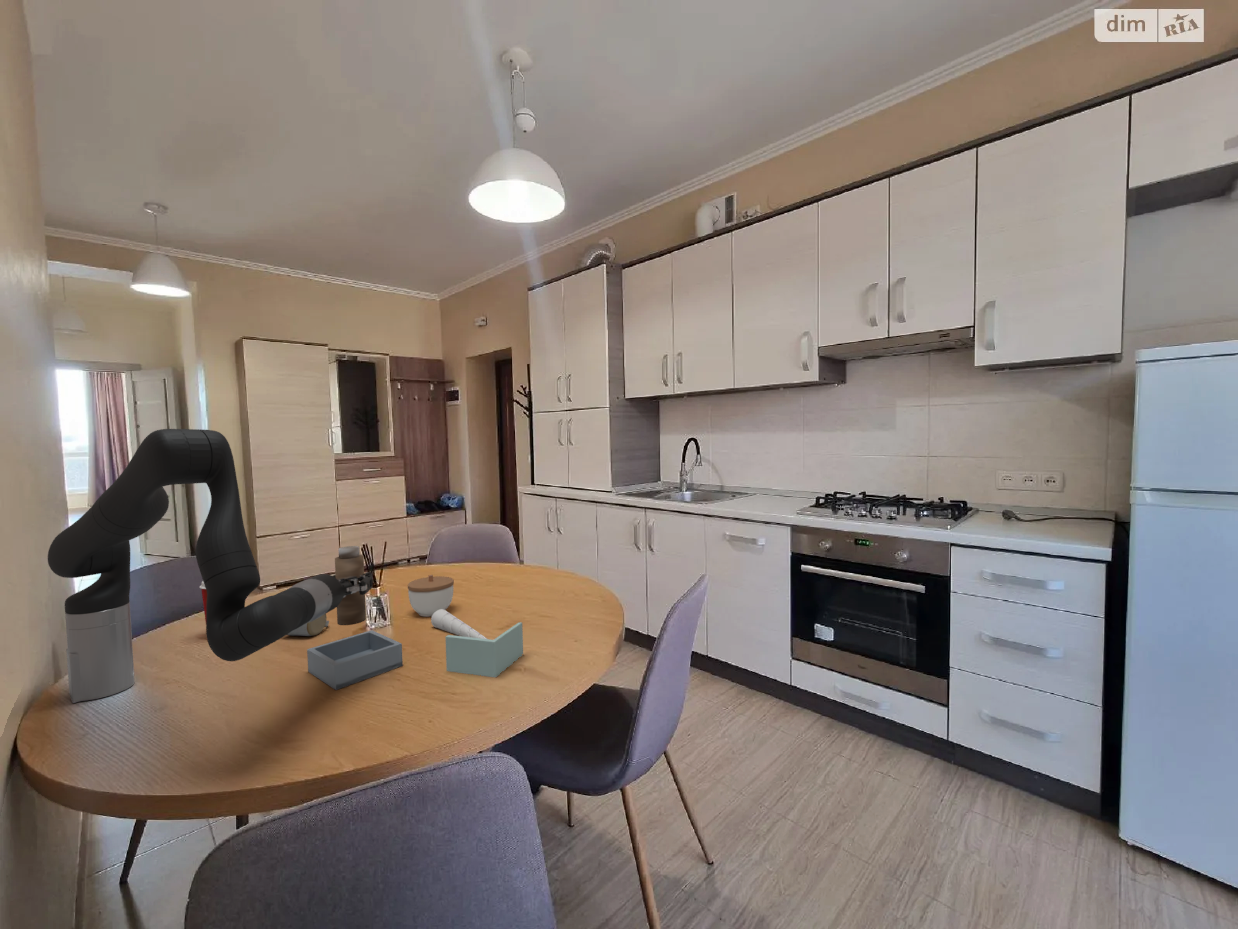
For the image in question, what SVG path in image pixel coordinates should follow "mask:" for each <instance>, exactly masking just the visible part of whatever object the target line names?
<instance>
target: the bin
mask: <svg viewBox="0 0 1238 929" xmlns="http://www.w3.org/2000/svg"><path fill="white" fill-rule="evenodd" d="M306 653H307V671H308V673H309V674H311V675H312V676H313V677H315V678H316V679H318V680H320V681H322V682H323V683H324V684H325V685H328V686H329V687H330V688H332V689H333V690H335V691H337V690H340V689H342V688H343V689H344V688H346V687H349V686H351V685H354V684H356V683H359V682H362V681H365V680H367V679H370V678H373V677H376V676H379V675H381V674H384V673H387V672H390V671H392V670H395V669H397V668H400V667H403V663H404V662H403V661H404V660H403V644H402V643H401V642H399V641H397V640H394V639H392V638H391V637H388V636H386V635H384V634H381V633H379V632H377V631H375V630H372V629H371V630H368V631H364V632H361V633H357V634H354V635H350V636H348V637H343V638H341V639H337V640H333V641H331V642H326V643H324V644H320V645H317V646H314V647H310V648H307V649H306Z"/></svg>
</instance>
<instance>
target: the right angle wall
mask: <svg viewBox="0 0 1238 929" xmlns="http://www.w3.org/2000/svg"><path fill="white" fill-rule="evenodd" d="M523 632H524V631H523V622H521V621H520V622H519V621H518V622H517V623H516V624H514V625H513V626H511V627H510V628H508V629H506V631H504V632H503V633H501V634H500V635H498V636H497V637H495V638H494V639H489V638H487V639H481V638H472V637H463V636H459V635H454V634H453V635H452V634H447V635H446V636H445V663H446V672H451V673H458V674H464V675H465V674H467V675H472V674H473V676H480V675H481V676H482V677H488V678H497V677H498V676H499V675H501V674H502V673H503V672H504V671H505V670H507V669H508V668H509V667H510V666H512V665H513V664H514V663H515V662H517V661H518V660H519V659H520V658H521V657H522V656H523V655H524V638H523V635H524V634H523ZM522 654H523V655H522ZM519 657H520V658H519ZM518 658H519V659H518ZM514 661H515V662H514ZM513 662H514V663H513ZM507 667H508V668H507ZM506 668H507V669H506ZM502 671H503V672H502ZM501 672H502V673H501ZM500 673H501V674H500Z"/></svg>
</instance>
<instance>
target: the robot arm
mask: <svg viewBox="0 0 1238 929" xmlns="http://www.w3.org/2000/svg"><path fill="white" fill-rule="evenodd" d="M232 451H233V450H232V448H231V446H230V443H229V441H228V439H227V438H226V436H225V435H224V434H223V433H221V432H220V431H216V430H212V429H193V428H192V429H191V428H163V429H162V428H161V429H156V430H154V431H152V432H151V433H149V434H148V435H146V436H145V437H144V439H143V440H142V442H141V443H140V444H139V445H138V447H137V449H136V451H135V452H134V454H133V456H132V457H131V459H130V461H129V462H128V464H127V465H126V466H125V468H124V470H123V471H122V472H121V474H120V475H119V476H118V477H117V478H116V479H115V481H114V482H113V483H112V484H111V485H110V486H109V487H107V488H106V490H104V492H102V494H101V495H99V497H98V498H97V499H96V500H95V502H94V503H93V504H92V506H91V507H90V508H89V509H88V510H87V511H86V512H85V513H84V514H83V515H82V516H81V517H79V518H78V519H77V520H76V521H75V522H74V523H72V524H71V525H69V526H68V527H67V528H65V529H63V530H62V531H60V533H58V534H57V535H56V536H55V537H54V539H53V540H52V541H51V544H50V546H49V548H48V552H47V563H48V564H47V565H48V567H49V568H50V570H51V571H52V572H53V574H55V575H56V576H58V577H61V578H66V579H75V578H76V579H77V578H81V577H88V576H93V575H99V574H100V576H99V577H98V578H97V580H96V581H94V582H93V583H92V584H91V585H89V586H87V587H85V588H84V589H82V590H79V591H77V592H75V593H73V594H71V595H70V596H68V597H66V599H65V601H64V614H65V616H64V617H65V629H66V630H65V631H66V646H67V648H66V651H65V652H66V663H67V664H66V665H67V678H68V680H67V681H68V694H69V695H68V696H69V697H70V701H71V703H72V704H75V703H79V702H84V701H91V700H98V699H101V698H105V697H109V696H113V695H116V694H118V693H121V692H123V691H125V690H127V689H129V688H131V687H132V686H133V685H134V684H135V669H134V655H133V654H134V653H133V652H134V651H133V650H134V649H133V635H132V620H131V618H132V616H131V602H130V600H131V599H130V592H131V542H130V541H131V540H133V539H136V538H138V537H140V536H142V535H143V534H145V533H146V532H149V531H150V530H151V529H152V528H153V527H154V526H155V525H156V524H157V523H159V521H161V520H162V518H164V516H165V515H166V514H167V512H168V510H169V504H170V500H169V495H168V493H167V491H166V489H165V488H164V487H166V486H171V485H172V486H176V485H190V484H194V485H195V484H206V485H207V488H208V490H209V492H210V501H211V503H210V506H209V510H208V514H207V516H206V519H205V521H204V523H203V526H202V527H201V530H200V532H199V535H198V537H197V541H196V547H195V559H196V562H197V566H198V569H199V572H200V575H201V579H202V581H203V582H204V584H205V588H206V590H207V604H206V621H205V633H206V635H205V636H206V641H207V644H208V645H209V649H210V650H211V651H212V652H213V654H215V655H216V656H217V658H219V659H221V660H223V661H226V662H236V661H239V660H242V659H245V658H246V657H248V656H250V655H252V654H254V653H256V652H258V651H260V650H262V649H264V648H265V647H267V646H269V645H271V644H273V643H275V642H277V641H279V640H280V639H282V638H284V637H286V636H288V635H287V634H288V633H290V632H291V631H293V630H295V629H297V628H299V627H301V626H302V625H304V624H306V623H309V622H311V621H314V620H315V619H317V618H319V617H321V616H323V615H324V614H326V615H327V613H329V612H331V611H333V610H334V609H337V606H338V605H339V604H340V602H341V601H342V599H343V597H345V596H346V595H349V594H352V593H355V592H357V591H359V593H360V595H364V594H365V595H366V594H367V593H368V592H369V591H370V590H371V589H372V588H373V581H374V579H373V573H372V572H371V571H367V572H364V574H362V575H360V576H357V577H356V576H349V577H345V578H337V579H336V576H335V574H333V575H332V574H331V575H330V574H328V573H322V574H321V573H320V574H317V575H314V576H312V577H310V578H307V579H304V580H302V581H300V582H297V583H295V584H293V585H291V586H290V587H289V588H287V589H285V590H282V591H280V592H278V593H276V594H273V595H269V596H267V597H263V598H261V599H259V600H257V601H254V602H252V603H250V604H248V605H246V601H247V600H246V599H247V598H248V597H249V596H250V594H251V593H252V592H253V591H255V590H256V589H257V588H258V587H259V585H260V583H261V575H260V572H259V569H258V567H257V563H256V560H255V557H254V555H253V552H252V549H251V546H250V544H249V540H248V536H247V532H246V528H245V524H244V519H243V513H242V512H243V511H242V505H241V496H240V491H239V490H240V489H239V485H238V477H237V471H236V467H235V461H234V460H235V459H234V455H233V452H232ZM349 580H350V582H349ZM357 580H359V581H358V585H357ZM245 605H246V606H245Z"/></svg>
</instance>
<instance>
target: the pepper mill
mask: <svg viewBox="0 0 1238 929" xmlns="http://www.w3.org/2000/svg"><path fill="white" fill-rule="evenodd" d="M364 557H365V556H364V555H363V554H360V546H357V545H348V546H343V547H339V548H338V556H337V557H334V570H335V572H334V573H335V574H334V575H335V576H336V579H337V578H345V577H349V576H356V577H357V576H360V575H362V574H364V573H365V564H364V563H365V562H364V561H365V560H364ZM358 581H359V580H357V585H358ZM349 582H350V580H349ZM336 617H337V620H336V622H337V625H339V626H352V625H357V624H358V625H359V624H360V623H363V622H365V621H366V620H367V614H366V594H364V595H360V593H359V591H357V592H355V593H352V594H349V595H346V596H345V597H343V599H342V601H341V602H340V604H339V605H338V606H337V607H336Z"/></svg>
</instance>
